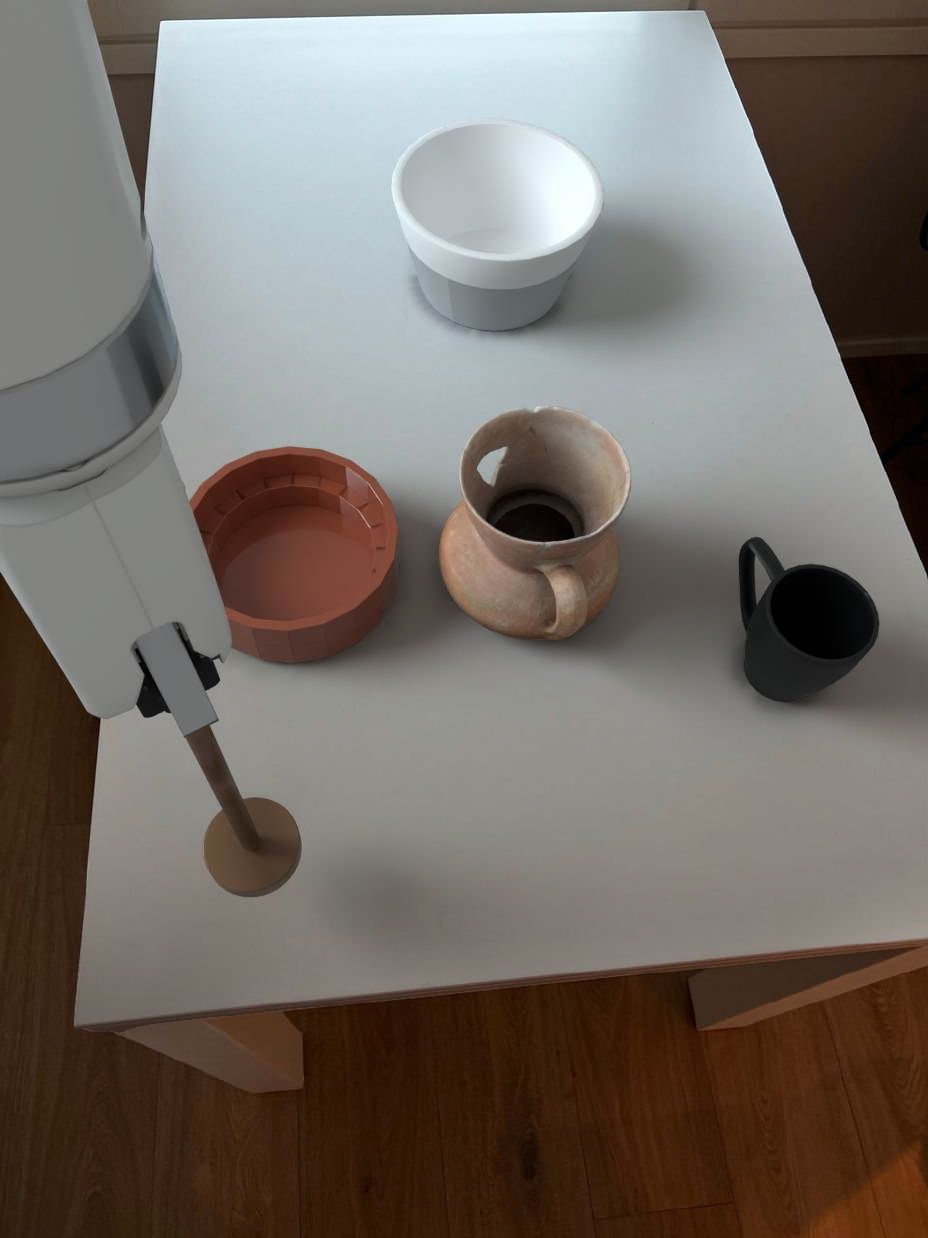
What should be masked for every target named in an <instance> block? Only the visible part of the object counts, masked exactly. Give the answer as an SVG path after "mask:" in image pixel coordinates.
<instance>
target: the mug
mask: <svg viewBox="0 0 928 1238" xmlns="http://www.w3.org/2000/svg"><path fill="white" fill-rule="evenodd" d="M756 558H757V560H758V561H759V562H760V564H761V566H762V568H763V569H764V571H765V573H766V575H767V576H768V578H769V580H770V583H769V584H768V586H767V588H766V589H765V590H764V592H763V593H762V595H761V596H760V598H759V600H758V602H757V593H756V591H757V590H756V569H755V568H756ZM738 586H739V588H738V590H739V605H740V614H741V621H742V625H743V628H744V631H745V634H746V636H745V641H744V651H743V652H744V653H743V654H744V658H743V671H744V672H743V673H744V674H745V677H746V679H747V681H748V683H749V684H750V686H751V687H752V688H753V689H754V690H755V691H756V692H757V693H759V694H760V695H761V696H763V697H765V698H767V699H770V700H772V701H776V702H784V703H786V702H793V701H796V700H799V699H801V698H803V697H807V696H810V695H813V694H815V693H818V692H821V691H823V690H825V689H827V688H828V687H830V686H832V685H834V684H835V683H837V682H838V681H840V680H841V679H843V678H844V677H846V676H847V675H848V674H850V672H852V671H853V669H854V668H855V667H856V666H857V665H858V664H859V663H860V662H861V661H863V659H864V658H865V657H866V656H867V655H868V654H869V652H870V651H871V650H872V649H873V648H874V646H875V644H876V642H877V640H878V637H879V631H880V617H879V612H878V609H877V606H876V603H875V601H874V599H873V598H872V596H871V595H870V594H869V592H868V591H867V590H866V588H865V587H864V586H863V585H862V584H861V583H860V582H859V581H857V580H856V579H855V578H853V577H852V576H851V575H849V574H848V573H846V572H843V571H841V570H839V569H837V568H836V567H831V566H828V565H825V564H818V563H816V564H815V563H805V564H798V565H794V566H791V567H789V568H786V569H785V567H784V566H783V564H782V562H781V560H780V559H779V558H778V556H777V554H776V553H775V551H774V550H773V549H772V547H771V546H770V544H768V543H767V542H766V540H765V539H764V538H762V537H759V536H753V537H750V538H748V539H746V541H745V542H744V543H743V544H742V545H741V546H740V548H739V553H738Z"/></svg>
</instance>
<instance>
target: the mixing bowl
mask: <svg viewBox="0 0 928 1238" xmlns="http://www.w3.org/2000/svg"><path fill="white" fill-rule="evenodd" d="M189 503H190V505H191V508H192V511H193V514H194V517H195V520H196V523H197V525H198V528H199V531H200V534H201V537H202V540H203V543H204V546H205V549H206V552H207V555H208V558H209V561H210V564H211V567H212V570H213V573H214V576H215V579H216V582H217V586H218V589H219V592H220V595H221V598H222V601H223V605H224V608H225V611H226V615H227V618H228V622H229V626H230V630H231V636H232V645H231V649H233V650H236V651H239V652H241V653H244V654H246V655H248V656H251V657H253V658H256V659H258V660H260V661H261V660H262V661H268V662H278V663H290V664H291V663H292V664H297V663H303V662H309V661H314V660H318V659H319V660H320V659H324V658H329V657H331V656H333V655H335V654H337V653H339V652H341V651H343V650H345V649H347V648H349V647H351V646H353V645H355V644H357V643H359V642H360V641H361V640H363V638H364V637H366V636H367V635H368V634H369V633H370V632H371V631H372V630H373V629H374V628H375V627H376V626H377V625H378V624H379V623H381V622H382V620H383V619H384V618H385V615H386V613H387V611H388V609H389V607H390V605H391V603H392V601H393V600H394V597H395V596H396V595H397V594H396V593H397V588H398V580H399V571H400V535H399V534H400V533H399V525H398V521H397V517H396V513H395V508H394V505H393V502H392V500H391V499H390V497H389V496H388V494H387V493H386V491H385V490H384V488H383V487H382V485H381V484H380V482H379V481H378V480H377V478H375V476H373V475H372V474H370V472H368V471H366V469H364V468H363V467H361V466H360V465H358V464H357V463H356V462H354V461H353V460H351V459H349V458H347V457H344V456H341V455H339V454H336V453H334V452H330V451H328V450H325V449H322V448H315V447H314V448H313V447H303V446H294V445H293V446H292V445H291V446H290V445H289V446H288V445H287V446H281V447H275V448H268V449H262V450H261V449H260V450H257V451H253V452H251V453H249V454H247V455H244V456H242V457H239V458H237V459H235V460H232V461H230V462H228V463H226V464H224V465H223V466H222V467H221V468H219V469H218V470H217V471H216V472H214V473H213V474H212V475H210V476H209V477H207V479H206V480H204V481H203V482H202V483H201V484H200V485H199V486H198V488H197V489H196V490H195V492H194V493H193V495H192V497H190V500H189Z"/></svg>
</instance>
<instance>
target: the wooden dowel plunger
mask: <svg viewBox="0 0 928 1238" xmlns="http://www.w3.org/2000/svg"><path fill="white" fill-rule="evenodd" d="M185 740H186V742H187V744H188V746H189V748H190V750H191V751H192V754H193V756H194V757H195V760H196V761H197V764H198V765H199V767H200V769H201V770H202V773H203V775H204V777H205V778H206V781H207V782H208V784H209V787H210V788H211V790H212V792H213V794H214V796H215V798H216V800H217V802H218V803H219V804H218V805H219V806H220V808H221V810H220V811H218V812H217V814H216V815H215V816H214V817H213V818H212V819H211V821H210V823H209V824H208V826H207V828H206V830H205V832H204V836H203V841H202V857H203V862H204V865H205V867H206V869H207V871H208V873H209V874H210V876H211V878H212V879H213V880H214V882H215V883H216V884H217V885H218V886H219V887H220V888H221V889H223V890H224V891H225V892H226V893H227V892H228V894H231V895H234V896H237V897H241V898H242V897H243V898H250V899H251V898H259V897H264V896H266V895H269V894H272V893H274V892H276V891H277V890H279V889H280V888H282V887H283V886H284V885H285V884H287V883H288V882H289V881H290V879H291V878H292V877H293V876H294V874H295V872H296V871H297V869H298V866H299V864H300V862H301V859H302V858H301V857H302V851H303V843H302V836H301V833H300V829H299V827H298V826H299V825H298V823H297V821H296V819H295V818H294V816H293V814H291V812H290V811H289V810H288V809H287V808H286V807H285V806H283V805H282V804H281V803H279V802H278V801H274V800H272V799H269V798H265V797H257V796H255V797H246V798H243V796H242V794H241V792H240V790H239V788H238V786H237V783H236V781H235V778H234V776H233V774H232V772H231V770H230V768H229V765H228V762H227V761H226V759H225V756H224V754H223V751H222V749H221V747H220V745H219V743H218V740H217V738H216V736H215V734H214V731H213V729H212V727H211V725H210V726H208V727H206V728H204V729H202V730H200V731H198V732H196V733H194V734H192V735H190V736H188V737H186V738H185Z"/></svg>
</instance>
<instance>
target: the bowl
mask: <svg viewBox="0 0 928 1238" xmlns="http://www.w3.org/2000/svg"><path fill="white" fill-rule="evenodd" d="M390 188H391V189H390V190H391V195H392V200H393V204H394V209H395V211H396V214H397V217H398V220H399V223H400V227H401V230H402V233H403V237H404V239H405V241H406V245H407V249H408V251H409V255H410V258H411V260H412V264H413V267H414V270H415V273H416V277H417V279H418V280H417V281H418V283H419V286H420V289H421V291H422V293H423V295H424V297H425V299H426V301H427V302H428V303H429V304H430V306H431V307H432V309H434V310H435V311H436V312H438V313H439V314H440V315H441V316H443V317H444V318H446V319H448V320H449V321H451V322H453V323H455V324H459V325H461V326H464V327H466V328H471V329H474V330H475V329H476V330H480V331H494V332H496V331H510V330H513V329H518V328H522V327H525V326H527V325H530V324H532V323H534V322H536V321H537V320H539V319H541V318H542V317H544V316H545V315H546V314H547V313H548V312H549V311H550V310H551V309H552V308H553V306H554V305H555V303H556V301H557V299H558V298H559V297H560V295H561V293H562V290H563V288H564V287H565V284H566V283H567V281H568V279H569V277H570V276H571V273H572V271H573V269H574V268H575V266H576V264H577V262H578V259H579V258H580V256H581V254H582V253H583V251H584V249H585V247H586V245H587V243H588V241H589V240H590V237H591V236H592V235H593V232H594V230H595V228H596V226H597V224H598V223H599V220H600V218H601V217H602V213H603V210H604V209H603V208H604V206H605V187H604V185H603V181H602V178H601V175H600V172H599V171H598V169H597V168H596V166H595V164H594V163H593V160H592V159H591V158H589V156H588V155H587V154H586V153H585V152H584V151H583V150H582V149H581V148H580V147H578V146H577V145H576V144H574V143H573V142H571V141H570V140H568V139H567V138H566V137H564V136H562V135H560V134H558V133H556V132H554V131H552V130H550V129H547V128H545V127H542V126H539V125H536V124H532V123H529V122H524V121H519V120H514V119H505V118H475V119H474V118H473V119H472V118H471V119H468V120H461V121H456V122H452V123H449V124H446V125H443V126H440V127H437V128H435V129H433V130H430V131H429V132H427V133H426V134H423V135H422V136H420V137H419V138H418V139H416V140H415V141H414V142H413V143H411V144H410V145H409V146H408V147H407V148H406V149H405V151H404V152H402V155H400V157H399V158H398V161H397V163H396V166H395V167H394V170H393V172H392V177H391V185H390Z"/></svg>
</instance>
